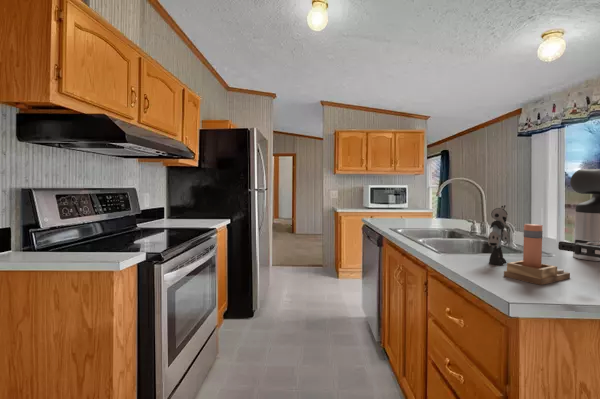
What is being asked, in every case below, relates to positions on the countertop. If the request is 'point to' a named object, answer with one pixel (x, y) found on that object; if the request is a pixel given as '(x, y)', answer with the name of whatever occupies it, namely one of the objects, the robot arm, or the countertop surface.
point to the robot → (498, 236)
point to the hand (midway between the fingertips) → (567, 244)
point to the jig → (535, 273)
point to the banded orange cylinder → (532, 245)
